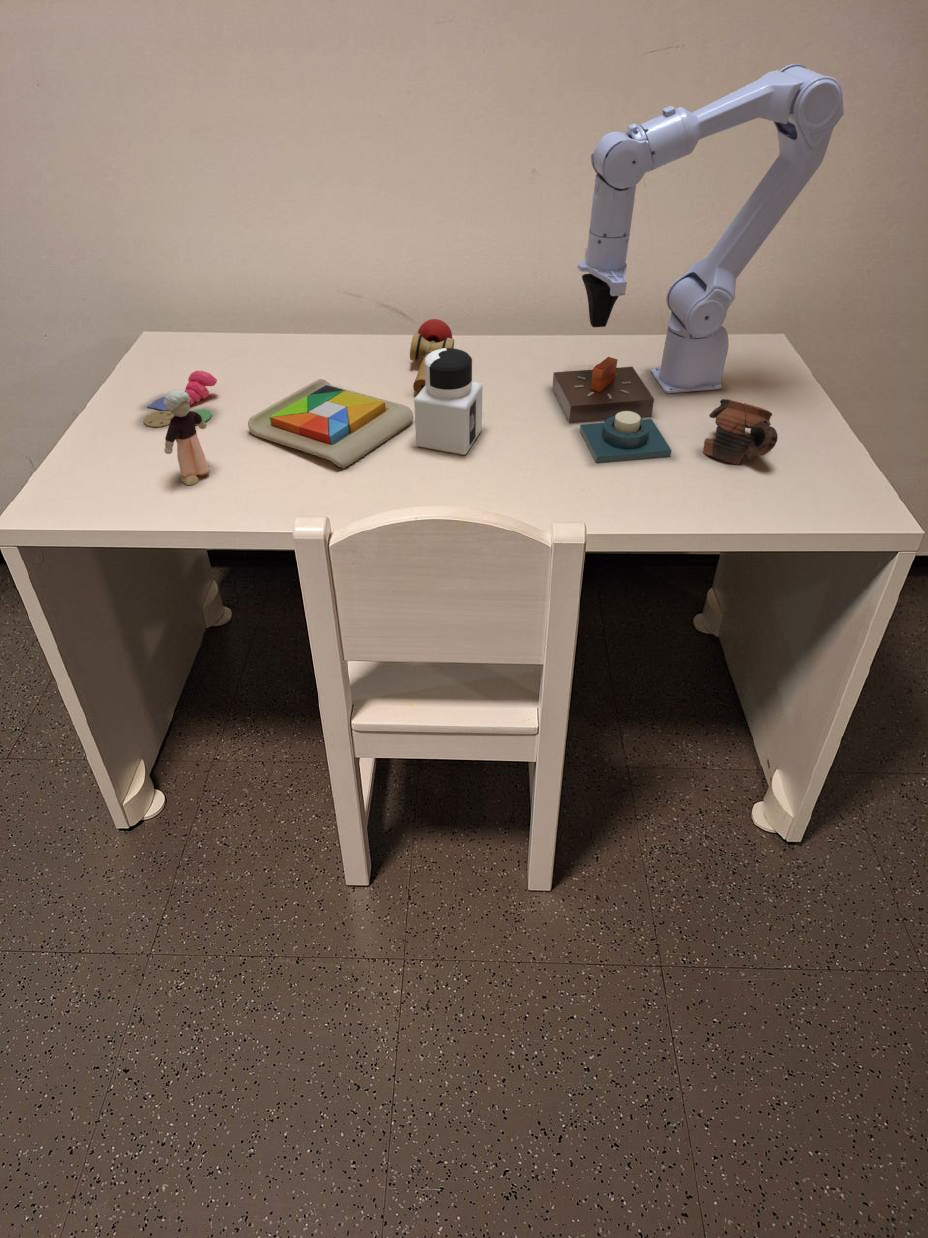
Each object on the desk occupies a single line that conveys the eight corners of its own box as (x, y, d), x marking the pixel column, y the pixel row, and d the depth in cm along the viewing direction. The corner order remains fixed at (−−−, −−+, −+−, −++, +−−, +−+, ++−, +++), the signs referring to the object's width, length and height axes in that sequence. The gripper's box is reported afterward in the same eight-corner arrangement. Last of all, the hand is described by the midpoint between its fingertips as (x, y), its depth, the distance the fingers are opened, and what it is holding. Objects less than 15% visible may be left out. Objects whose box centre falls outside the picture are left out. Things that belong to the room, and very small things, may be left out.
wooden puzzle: (325, 387, 132) (322, 366, 129) (417, 421, 124) (416, 400, 121) (245, 432, 121) (241, 411, 119) (340, 473, 113) (337, 451, 111)
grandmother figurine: (196, 491, 110) (172, 406, 101) (170, 486, 111) (145, 401, 102) (223, 461, 115) (203, 378, 107) (199, 457, 116) (177, 374, 108)
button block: (650, 425, 123) (653, 407, 121) (670, 457, 116) (674, 438, 114) (579, 431, 121) (581, 413, 119) (595, 463, 115) (598, 445, 113)
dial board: (629, 383, 132) (632, 365, 130) (651, 416, 125) (654, 398, 122) (552, 389, 131) (553, 370, 129) (568, 423, 123) (570, 404, 121)
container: (482, 430, 122) (483, 346, 113) (465, 456, 116) (465, 371, 108) (434, 421, 124) (431, 339, 115) (415, 446, 118) (411, 362, 109)
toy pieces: (166, 388, 131) (159, 362, 128) (230, 394, 130) (225, 368, 127) (129, 424, 123) (121, 398, 120) (198, 432, 121) (191, 405, 118)
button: (634, 420, 118) (636, 409, 117) (642, 433, 116) (644, 422, 115) (610, 422, 118) (612, 411, 117) (617, 435, 115) (619, 424, 114)
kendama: (452, 403, 130) (462, 340, 141) (443, 369, 125) (455, 307, 137) (405, 408, 132) (419, 345, 143) (395, 375, 127) (411, 313, 138)
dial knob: (605, 377, 127) (608, 354, 125) (614, 380, 127) (617, 357, 124) (590, 389, 125) (593, 366, 122) (599, 392, 124) (602, 369, 121)
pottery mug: (683, 448, 119) (703, 392, 116) (724, 460, 124) (744, 407, 122) (745, 467, 109) (769, 407, 107) (788, 480, 115) (811, 422, 112)
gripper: (569, 216, 120) (561, 307, 129) (596, 250, 109) (584, 347, 119) (615, 214, 121) (604, 305, 130) (646, 247, 110) (631, 344, 119)
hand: (597, 325), depth 124 cm, fingers closed
